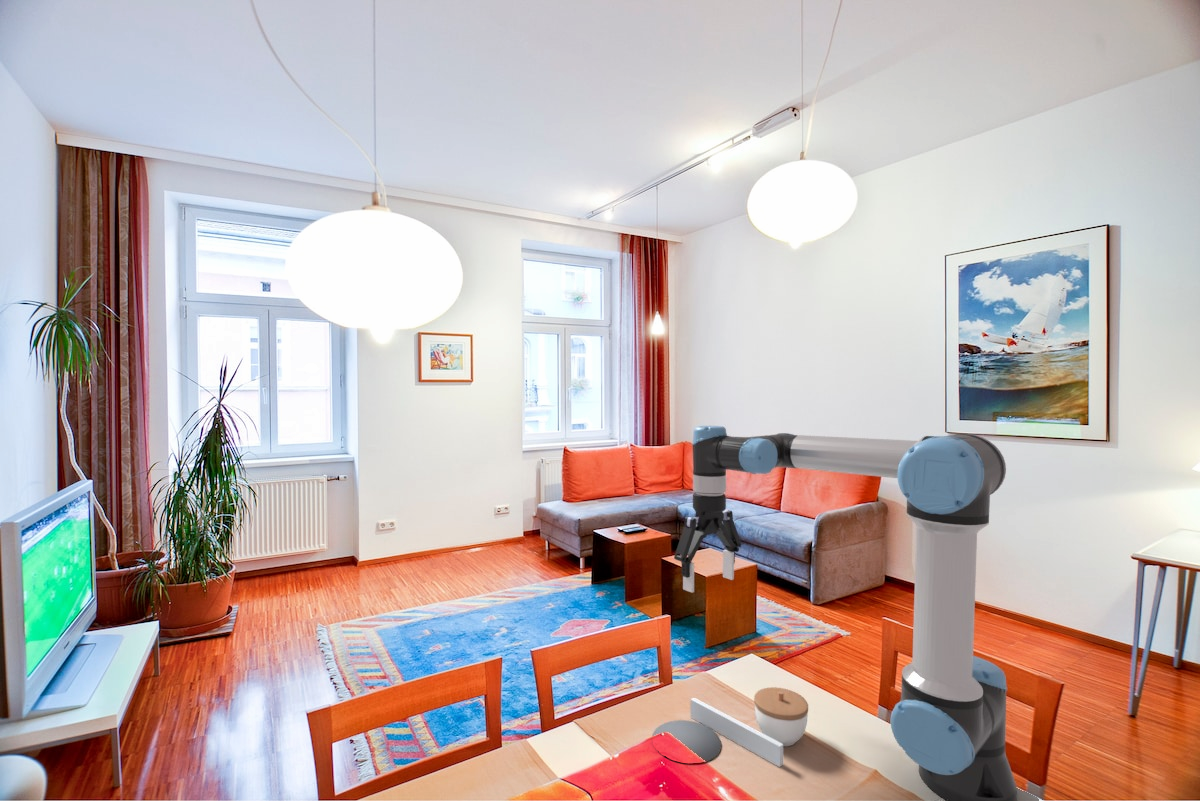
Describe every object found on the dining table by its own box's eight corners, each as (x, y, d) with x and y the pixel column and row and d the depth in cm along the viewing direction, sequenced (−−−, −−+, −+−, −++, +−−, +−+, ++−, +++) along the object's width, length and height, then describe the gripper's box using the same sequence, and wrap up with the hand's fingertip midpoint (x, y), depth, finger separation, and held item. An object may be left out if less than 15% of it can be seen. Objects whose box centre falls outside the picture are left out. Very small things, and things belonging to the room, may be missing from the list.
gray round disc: (734, 743, 116) (734, 742, 116) (690, 774, 107) (690, 772, 107) (682, 714, 127) (682, 712, 127) (637, 739, 117) (637, 738, 117)
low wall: (783, 764, 110) (783, 744, 110) (779, 767, 109) (779, 746, 109) (693, 715, 126) (694, 697, 126) (690, 717, 125) (690, 699, 125)
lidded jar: (800, 723, 123) (800, 680, 123) (814, 755, 112) (814, 708, 112) (750, 720, 124) (750, 678, 124) (759, 752, 113) (759, 705, 113)
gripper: (731, 485, 141) (731, 569, 142) (658, 496, 126) (658, 591, 127) (756, 489, 135) (756, 577, 136) (682, 502, 120) (682, 601, 121)
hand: (709, 584), depth 131 cm, fingers open, 13 cm apart
